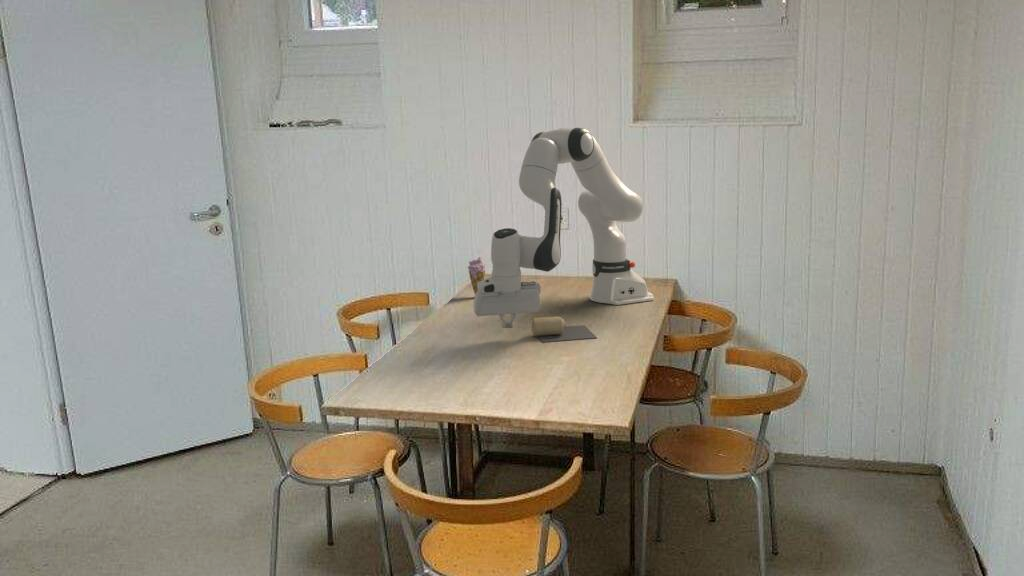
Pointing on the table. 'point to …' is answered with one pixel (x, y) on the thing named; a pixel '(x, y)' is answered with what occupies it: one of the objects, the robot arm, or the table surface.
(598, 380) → the table surface
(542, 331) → the candle
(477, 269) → the ice cream cone
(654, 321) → the table surface
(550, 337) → the mat
